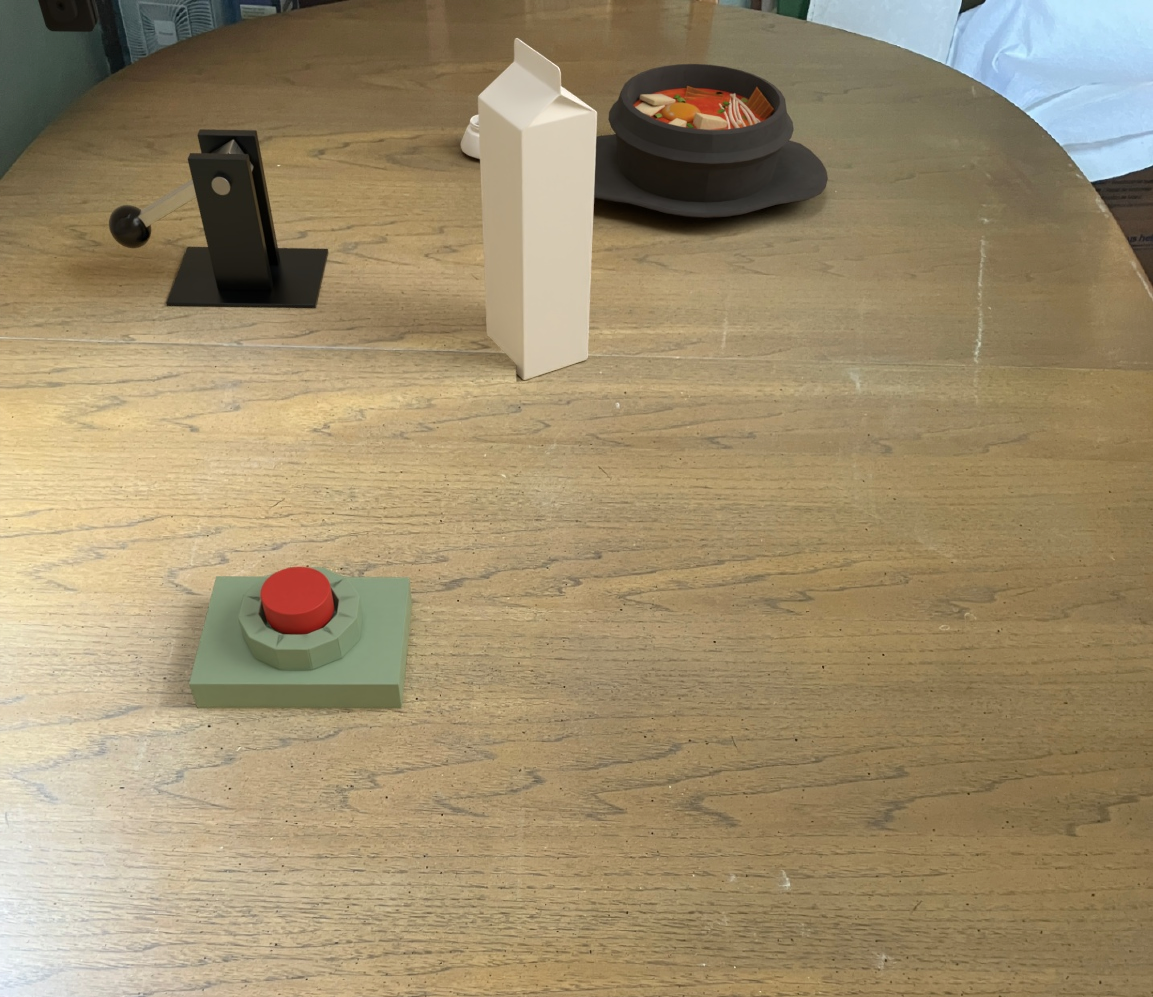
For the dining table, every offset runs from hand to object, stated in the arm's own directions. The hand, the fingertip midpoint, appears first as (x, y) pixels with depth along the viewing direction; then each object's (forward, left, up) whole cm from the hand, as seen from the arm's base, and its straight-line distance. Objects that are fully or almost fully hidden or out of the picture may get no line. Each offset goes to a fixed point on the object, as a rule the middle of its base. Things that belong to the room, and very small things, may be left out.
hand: (73, 26), depth 79 cm
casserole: (+47, +22, -21) cm, 56 cm away
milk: (+32, -6, -21) cm, 39 cm away
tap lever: (+4, +3, -15) cm, 15 cm away
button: (+18, -39, -17) cm, 46 cm away
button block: (+18, -39, -21) cm, 48 cm away
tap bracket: (+8, +3, -21) cm, 22 cm away
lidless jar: (+27, +29, -21) cm, 44 cm away
